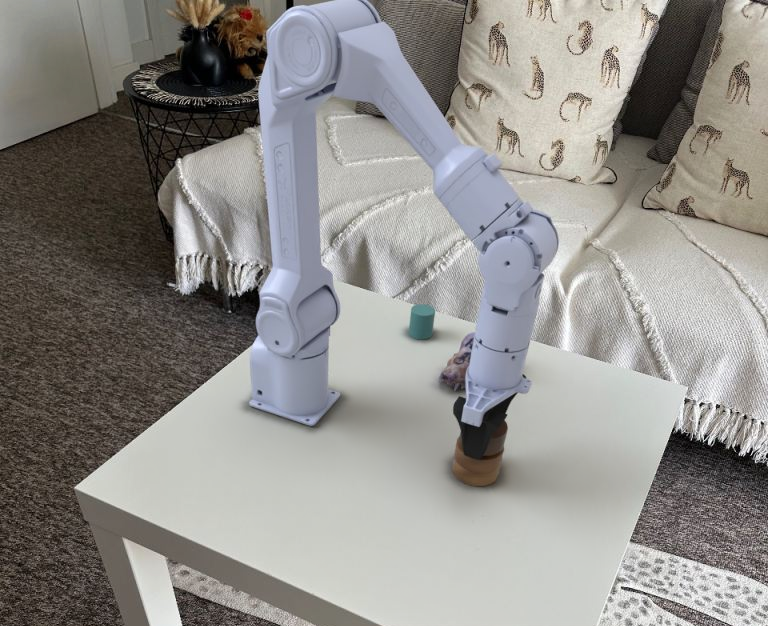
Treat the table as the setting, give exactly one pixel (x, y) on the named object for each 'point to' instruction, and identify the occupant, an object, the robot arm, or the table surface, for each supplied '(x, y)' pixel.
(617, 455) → the table surface
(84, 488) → the table surface
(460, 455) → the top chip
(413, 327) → the teal cylinder peg
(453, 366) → the skull
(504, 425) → the walnut chip
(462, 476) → the bottom chip
